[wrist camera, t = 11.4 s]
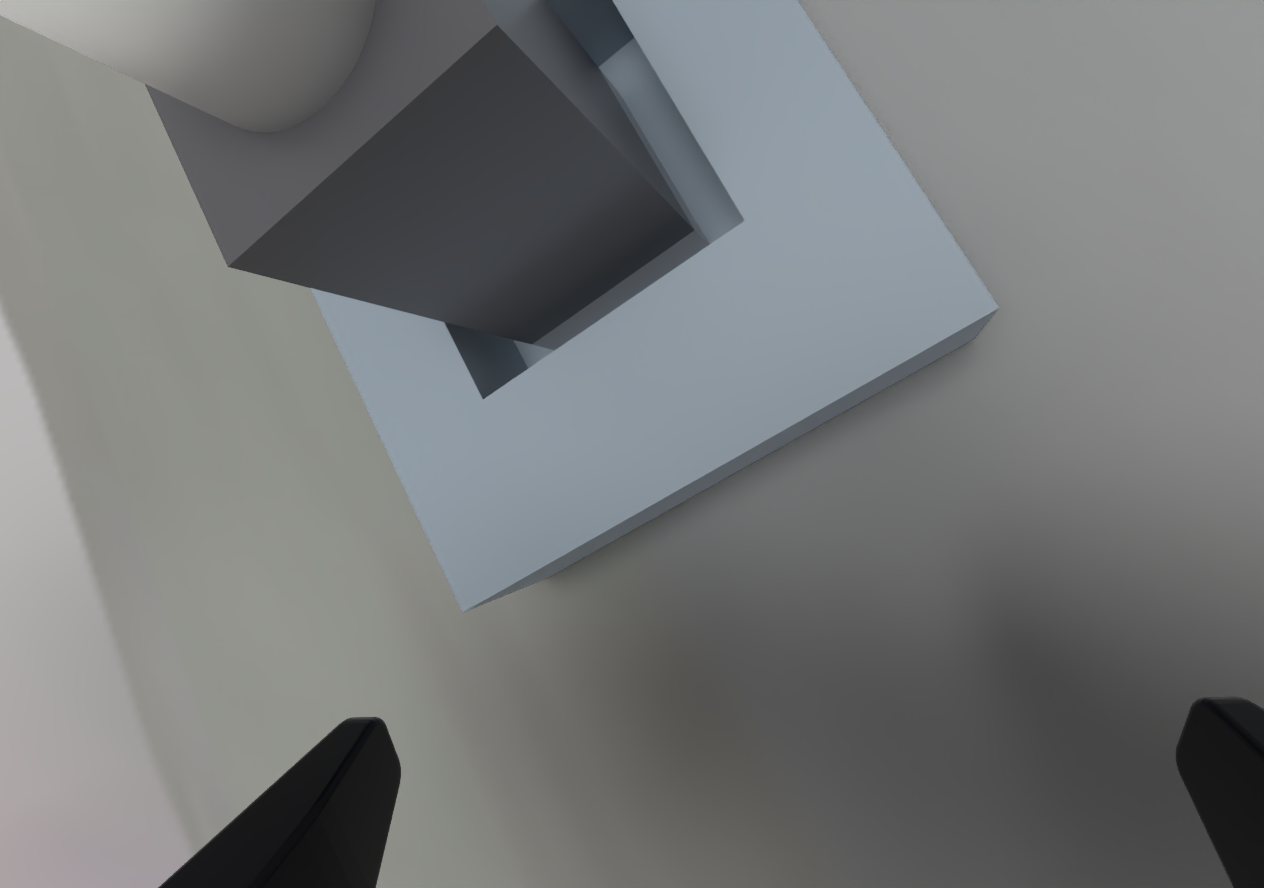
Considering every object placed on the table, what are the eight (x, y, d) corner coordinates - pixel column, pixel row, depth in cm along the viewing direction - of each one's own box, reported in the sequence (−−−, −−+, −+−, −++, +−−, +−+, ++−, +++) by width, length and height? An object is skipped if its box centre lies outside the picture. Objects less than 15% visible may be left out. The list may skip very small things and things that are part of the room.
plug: (711, 247, 16) (260, -221, 5) (560, 351, 18) (-78, 188, 6) (621, 95, 17) (39, -635, 5) (483, 206, 19) (-221, -188, 7)
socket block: (973, 339, 15) (999, 307, 12) (546, 578, 19) (462, 612, 15) (669, -133, 18) (610, -285, 14) (341, 162, 21) (223, 103, 18)
